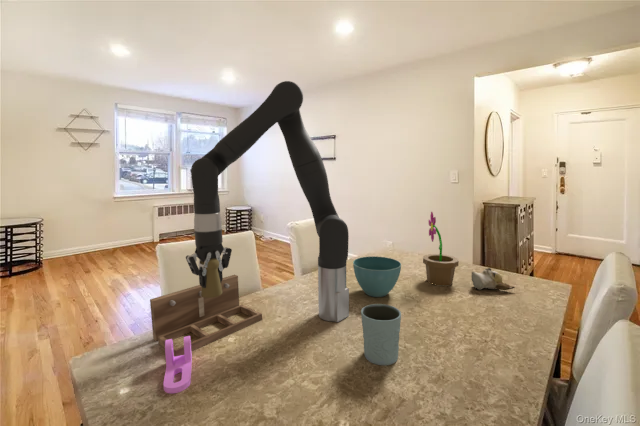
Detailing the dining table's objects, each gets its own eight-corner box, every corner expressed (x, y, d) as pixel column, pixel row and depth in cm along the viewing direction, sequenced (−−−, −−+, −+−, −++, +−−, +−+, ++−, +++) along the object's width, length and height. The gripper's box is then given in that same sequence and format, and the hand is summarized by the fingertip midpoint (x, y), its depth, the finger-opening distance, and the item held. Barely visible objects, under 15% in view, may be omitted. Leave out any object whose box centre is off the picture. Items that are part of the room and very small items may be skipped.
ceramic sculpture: (466, 263, 133) (501, 265, 133) (463, 283, 134) (498, 285, 135) (479, 272, 122) (518, 273, 123) (477, 293, 124) (514, 295, 124)
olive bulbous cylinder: (215, 298, 92) (213, 261, 91) (196, 296, 93) (194, 260, 92) (226, 290, 98) (224, 255, 97) (208, 289, 99) (206, 254, 98)
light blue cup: (392, 372, 77) (393, 324, 75) (353, 359, 82) (354, 314, 80) (405, 351, 85) (406, 308, 84) (369, 341, 90) (370, 300, 89)
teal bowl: (406, 290, 128) (407, 260, 126) (390, 306, 113) (391, 272, 111) (364, 282, 138) (365, 254, 136) (344, 296, 123) (344, 265, 121)
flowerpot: (418, 275, 145) (421, 209, 141) (451, 276, 143) (454, 209, 139) (426, 287, 131) (428, 214, 127) (462, 288, 129) (466, 214, 125)
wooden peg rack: (262, 319, 104) (260, 284, 102) (176, 358, 83) (173, 314, 82) (236, 307, 114) (234, 274, 112) (153, 339, 93) (149, 299, 91)
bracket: (168, 362, 81) (166, 337, 81) (191, 358, 83) (190, 333, 82) (162, 396, 69) (159, 366, 68) (190, 390, 71) (188, 361, 70)
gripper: (191, 233, 85) (195, 295, 88) (236, 226, 96) (239, 281, 98) (178, 230, 90) (182, 289, 93) (222, 223, 101) (225, 276, 103)
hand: (211, 284), depth 95 cm, fingers closed on olive bulbous cylinder, 4 cm apart
